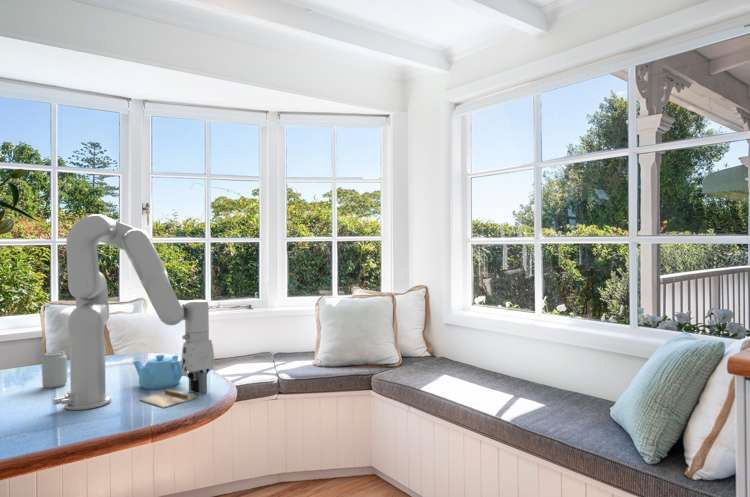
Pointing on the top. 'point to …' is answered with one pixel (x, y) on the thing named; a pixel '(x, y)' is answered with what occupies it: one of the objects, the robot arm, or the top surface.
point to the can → (54, 369)
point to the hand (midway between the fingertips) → (197, 390)
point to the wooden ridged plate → (168, 398)
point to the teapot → (159, 372)
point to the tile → (200, 383)
